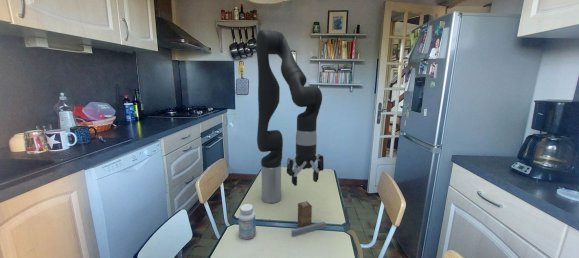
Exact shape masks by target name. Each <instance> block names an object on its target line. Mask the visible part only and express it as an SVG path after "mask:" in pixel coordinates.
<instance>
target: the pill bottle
mask: <svg viewBox="0 0 579 258" xmlns="http://www.w3.org/2000/svg"><path fill="white" fill-rule="evenodd" d="M256 224H257V223H256V213H255V211H254V206H253V204H251V203H245V204H242V205H241V206H240V208H239V213H238V233H239V237H240V238H241V239H244V240H249V239H253V238H254V237H255V236H256V234H257V227H256Z"/></svg>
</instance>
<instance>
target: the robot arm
mask: <svg viewBox="0 0 579 258" xmlns="http://www.w3.org/2000/svg"><path fill="white" fill-rule="evenodd" d="M255 41H256V42H255V45H256V46H255V47H256V57H257V58H256V59H257V72H258V73H257V74H258V75H257V78H258V79H257V80H258V81H257V83H258V86H257V101H258V102H257V104H258V110H257V111H258V117H257V118H258V119H257V121H258V122H257V133H256V134H257V135H256V142H257V143H256V144H257V149H258V151H259V152H261V153H268V152H269V153H268V154H266V155H265V156H263V157H262V158H261V160H260V163H261V164H260V169H261V170H260V171H261V200H262V202H263V203H267V204H276V203H279V202H280V201H281V200H282V160H283V147H284V146H283V144H284V141H283V140H284V138H283V135H282V132H281V131H280V130H278V129H275V130H273V129H271V130H268V129H269V124H270V121H271V118H272V117H273V116H274V113H275V111H276V109H278V106H279V104H280V98H281V97H280V95H281V92H280V89H281V87H280V84H279V81H278V79H277V78H276V76H275V74H274V73H273V71H272V68H271V65H270V59H269V57H270V56H269V55H274V56H275V55H277V56H278V57H279V58H280V59H281V65H280V72H281V75H282V77H283V79H284V81H285V82H286V84H287V85H288V89H289V92H290V97H291V100H292V102H293V104H294V105H296V106H297V107H299V108H305V110H304V111H303V112H301V113H299V114H298V115H297V116H296V133H295V158H289V157H288V158H287V162H286V163H287V164H286V174H288V176H289V177H291V184H293V186H294V187H297V186H298V174H299V173H301V171H302V170H306V169H311V168H312V170H313V172H312V181H313V182H314V183H317V182H318V181H319V173H320V172H321V171H324V168H325V166H324V156H323V155H322V154H320V153H318V154H317V144H318V143H317V142H318V140H317V139H318V136H317V120H318V116H319V114H320V113H319V112H320V109H321V106H322V103H323V93H322V91H321V89H320V87H318V86H315V85H310V86H309V85H307V86H306V84H307V80H308V79H307V77H306V75H305V73H304V72H303V71H302V69H301V67H300V65H298V63H297V61H296V59H295V58H294V55H293V54H292V51H291V48H290V45H289V44H288V41H287V38H286V37H285V36H284V34H283V33H282V32H281V31H277V30H271V29H270V30H269V29H260V30H258V32H257V35H256V38H255ZM316 161H317V165H316V164H315V162H316Z"/></svg>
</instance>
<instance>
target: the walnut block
mask: <svg viewBox="0 0 579 258" xmlns="http://www.w3.org/2000/svg"><path fill="white" fill-rule="evenodd" d="M312 208H313V205H311V203H309V202H308V200H306V201H302V202H301V201H300V202H298V203H297V226H299V228H301V227H305V226H309V225H312V216H313V215H312V212H313V211H312V210H313V209H312Z"/></svg>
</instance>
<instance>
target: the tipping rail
mask: <svg viewBox="0 0 579 258" xmlns="http://www.w3.org/2000/svg"><path fill="white" fill-rule="evenodd" d="M326 228H327V222H326V221H321V222H316V223H313V224H312V223H311V225H309V226H305V227H301V228H300V227H297V228H294V229H291V236H292V237H297V236H301V235H305V234H307V233H311V232H315V231H318V230H321V229H326Z"/></svg>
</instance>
